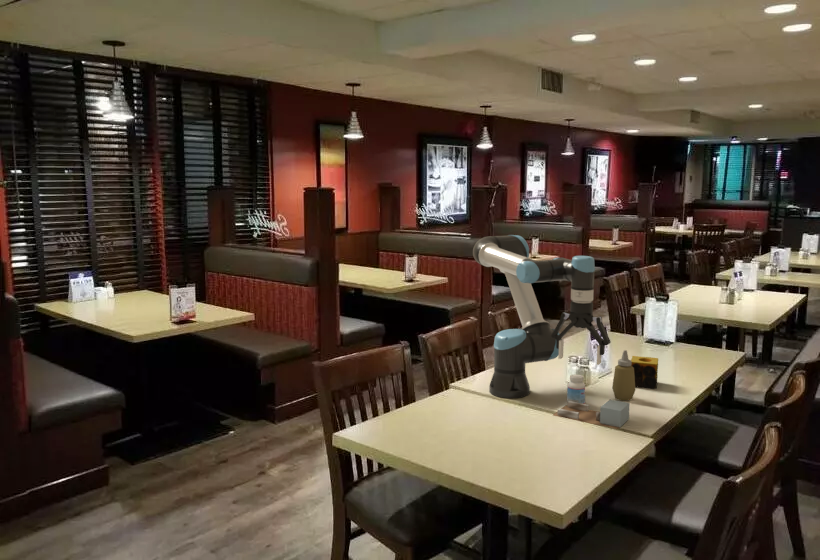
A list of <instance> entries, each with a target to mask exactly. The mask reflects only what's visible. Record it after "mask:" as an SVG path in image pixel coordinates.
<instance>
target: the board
mask: <svg viewBox="0 0 820 560" xmlns="http://www.w3.org/2000/svg"><path fill="white" fill-rule="evenodd" d="M552 416H553V417H559V418H562V419H563V418H564V419H569V420H572V421H577V422H582V423H586V424H592V425H596V426H601V427H605V428H611V429H614V430H615V429H616V430H619V429H620V427H616V426H611V425H606V424H602V423H600V410H599V411H598V410H594V409H593V410H592V409H590V404H586V403H585V404H582V403H577V402H572V401H569V402H568V403H567V404H565V405H564V406H563V407H561V408H558V409H557V410H556V412H554V413H553V414H552Z"/></svg>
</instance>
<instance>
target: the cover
mask: <svg viewBox="0 0 820 560" xmlns="http://www.w3.org/2000/svg"><path fill="white" fill-rule="evenodd" d="M599 412H600V423H602V424H606V425H611V426H616V427H619V428H621V427H622V426H623V425H624V424H625V423H626V422H627V421H629V419H630V402H628V401H622V400H617V399H616V400H615V399H609V400H607V401H606V402H605V403H603V404H602V405H601V406H600V410H599Z"/></svg>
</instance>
